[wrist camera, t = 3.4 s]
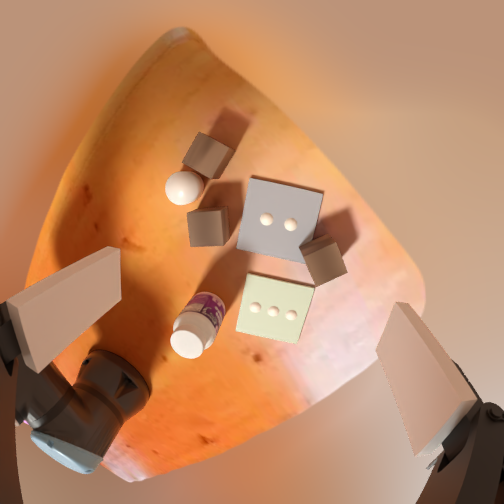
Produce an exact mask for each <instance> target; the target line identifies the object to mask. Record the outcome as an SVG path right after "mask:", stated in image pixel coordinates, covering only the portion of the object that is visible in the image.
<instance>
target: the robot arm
mask: <svg viewBox="0 0 504 504" xmlns="http://www.w3.org/2000/svg"><path fill="white" fill-rule="evenodd" d="M120 300H122V298H121V272H120V249H119V248H114V247H110V246H107V247H105V248H103V249H101V250H99V251H97V252H95V253H93V254H91V255H89V256H87V257H85V258H83V259H81V260H79V261H77V262H75V263H73V264H71V265H69V266H67V267H65V268H63V269H61V270H59V271H58V272H56V273H54V274H52V275H50V276H48V277H46V278H44V279H43V280H41V281H39V282H37V283H35V284H34V285H32V286H30V287H28V288H27V289H25V290H23V291H21V292H20V293H18V294H16V295H15V296H13V297H11V298H9V299H8V300H6V301H5V302H4V303H2V304H0V504H23V500H22V494H21V489H20V483H19V476H18V467H17V457H16V443H15V426H19V425H20V424H21V423H22V422H23V421H24V420H25V421H26V422H27V423H28V424H29V425H30V426H31V427H32V428H33V431H31V439H32V440H33V441H34V442H35V444H36V445H37V446H38V447H39V448H40V449H41V450H43V451H44V452H45V453H46V454H48V455H49V456H51V457H52V458H54V459H55V460H56V461H58V462H60V463H61V464H63V465H64V466H66V467H68V468H70V469H72V470H74V471H77V472H79V473H83V474H90V473H92V472H94V471H95V469H96V468H97V466H98V465H99V464H100V462H101V461H103V457H104V456H105V454H106V452H107V451H108V449H109V447H110V445H111V444H112V442H113V440H114V439H115V437H116V435H117V434H118V432H119V430H120V428H121V427H122V425H123V424H124V422H126V421H127V420H128V419H130V418H131V417H133V416H134V415H135V414H137V413H138V412H139V411H141V410H142V409H143V408H144V406H145V405H146V403H147V401H148V399H149V389H148V386H147V384H146V382H145V381H144V379H143V377H142V376H141V375H140V374H139V372H138V371H137V370H136V369H135V368H134V367H133V366H132V365H130V364H129V363H128V362H127V361H125V360H124V359H123V358H121V357H119V356H117V355H116V354H113V353H111V352H108V351H104V350H95V351H92V352H91V353H90V354H89V355H88V356H87V357H86V358H85V359H84V361H83V362H82V365H81V368H80V370H79V373H78V376H77V379H76V381H75V383H74V385H73V386H71V385H70V383H69V382H68V381H67V380H66V378H65V377H64V376H63V374H62V373H61V372H60V371H59V369H58V368H57V367H56V365H55V364H54V362H53V361H52V360H53V359H54V358H55V357H57V356H58V355H59V354H60V353H61V352H62V351H63V350H64V349H65V348H66V347H68V346H69V345H70V344H71V343H72V342H73V341H74V340H75V339H76V338H78V337H79V336H80V335H81V334H82V333H83V332H84V331H85V330H87V329H88V328H89V327H90V326H91V325H92V324H93V323H95V322H96V321H97V320H98V319H99V318H100V317H101V316H103V315H104V314H105V313H106V312H107V311H108V310H110V309H111V308H112V307H113V306H114V305H116V304H117V303H118V302H119V301H120ZM376 352H377V355H378V357H379V360H380V362H381V364H382V367H383V369H384V372H385V374H386V377H387V379H388V382H389V384H390V387H391V389H392V392H393V395H394V397H395V400H396V402H397V405H398V408H399V411H400V414H401V416H402V419H403V422H404V425H405V428H406V431H407V434H408V437H409V440H410V443H411V446H412V449H413V452H414V456H415V457H418V456H423V455H429V454H432V453H433V452H434V451H435V450H436V449H437V448H438V447H439V446H440V445H441V444H442V446H443V448H444V451H443V452H442V453H441V454H440V455H439V456H438V457H437V458H436V459H435V460H434V461H433V462H432V463H430V464H429V466H428V467H427V469H430V468H431V467H432V466H433V465H435V466H434V468H433V470H432V473H431V475H430V477H429V479H428V481H427V483H426V485H425V487H424V489H423V491H422V493H421V495H420V497H419V499H418V501H417V502H416V504H504V411H503V410H502V409H501V408H500V407H499V406H498V405H496V404H494V403H491V402H487V403H483V402H482V400H481V398H480V397H479V395H478V394H477V392H476V391H475V389H474V388H473V386H472V384H471V383H470V382H468V379H467V377H466V376H465V375H464V373H463V372H462V370H461V368H460V367H459V366H458V364H456V363H455V362H454V361H453V360H452V359H450V357H449V356H448V354H447V353H446V352H445V350H444V349H443V347H442V346H441V345H440V343H439V342H438V341H437V339H436V338H435V337H434V336H433V334H432V333H431V331H430V330H429V329H428V327H427V326H426V325H425V324H424V322H423V321H422V320H421V318H420V317H419V316H418V315H417V313H416V312H415V311H414V310H413V308H412V307H411V306H410V305H409V304H408V303H401V302H395V304H394V306H393V309H392V312H391V314H390V317H389V319H388V322H387V324H386V327H385V329H384V332H383V334H382V336H381V339H380V341H379V343H378V346H377V348H376Z"/></svg>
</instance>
